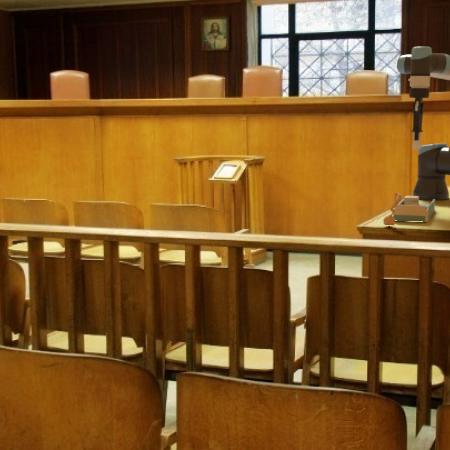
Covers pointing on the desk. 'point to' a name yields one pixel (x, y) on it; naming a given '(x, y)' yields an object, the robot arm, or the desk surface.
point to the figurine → (390, 219)
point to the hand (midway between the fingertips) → (416, 148)
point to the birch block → (411, 200)
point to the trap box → (414, 212)
